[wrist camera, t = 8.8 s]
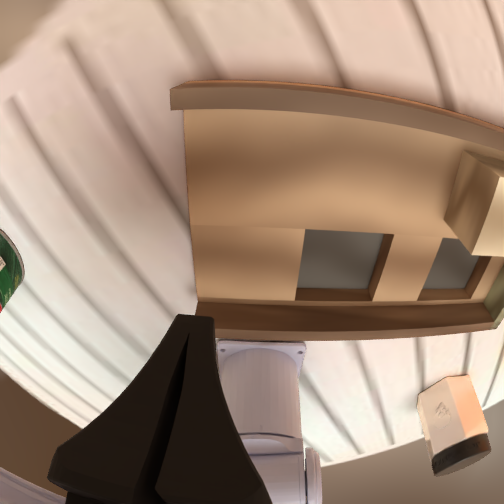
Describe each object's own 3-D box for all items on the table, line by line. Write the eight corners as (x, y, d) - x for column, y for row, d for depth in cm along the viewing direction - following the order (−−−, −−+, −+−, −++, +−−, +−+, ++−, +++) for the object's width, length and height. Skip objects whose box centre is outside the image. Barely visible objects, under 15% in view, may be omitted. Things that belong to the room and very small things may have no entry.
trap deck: (479, 299, 25) (496, 328, 22) (201, 297, 25) (194, 336, 22) (540, 143, 15) (572, 164, 12) (188, 81, 16) (169, 89, 12)
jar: (459, 366, 32) (487, 447, 22) (475, 380, 35) (499, 449, 25) (403, 400, 36) (421, 479, 26) (427, 410, 39) (444, 477, 29)
